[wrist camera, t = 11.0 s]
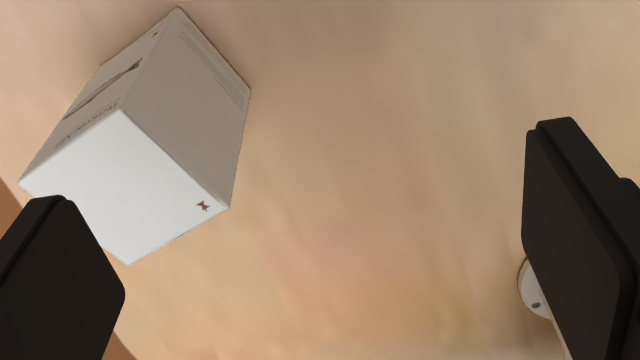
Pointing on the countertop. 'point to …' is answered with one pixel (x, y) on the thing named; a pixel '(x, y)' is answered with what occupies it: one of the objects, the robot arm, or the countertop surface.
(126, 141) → the supplement box
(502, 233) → the countertop surface
